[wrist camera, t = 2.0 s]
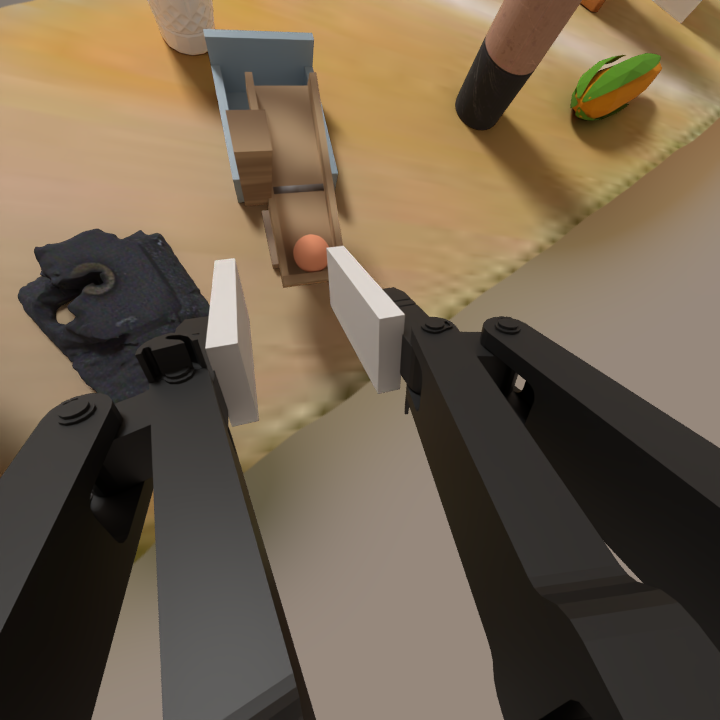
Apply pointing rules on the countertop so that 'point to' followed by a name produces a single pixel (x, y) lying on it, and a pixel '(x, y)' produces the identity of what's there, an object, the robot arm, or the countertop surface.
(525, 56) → the travel mug
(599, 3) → the whiskey bottle
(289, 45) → the bin
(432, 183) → the countertop surface
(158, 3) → the white cup
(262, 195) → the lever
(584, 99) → the corn
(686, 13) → the milk
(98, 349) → the dark slate chunk
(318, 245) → the ball
